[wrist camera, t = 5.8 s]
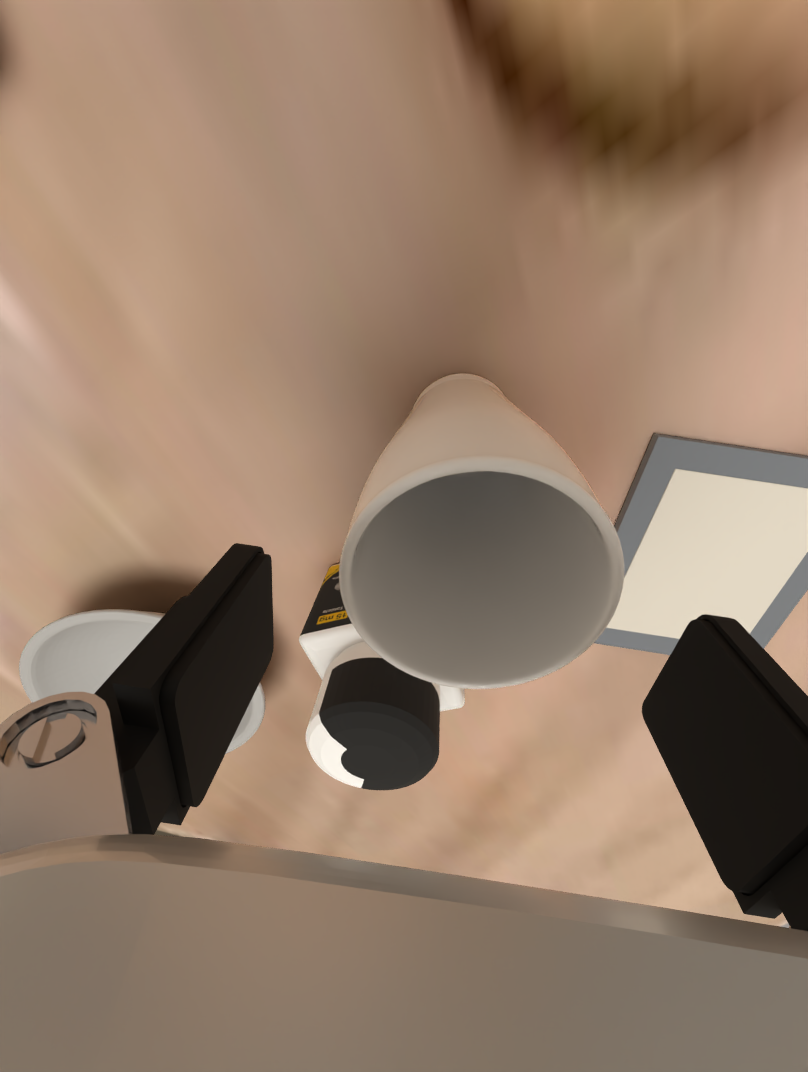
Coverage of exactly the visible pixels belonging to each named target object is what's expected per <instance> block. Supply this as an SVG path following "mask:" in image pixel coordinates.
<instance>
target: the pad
mask: <svg viewBox="0 0 808 1072" xmlns="http://www.w3.org/2000/svg"><path fill="white" fill-rule="evenodd" d="M614 527H615V530H616V532H617V535H618V537H619V540H620V544H621V548H622V552H623V559H624V582H623V589H622V593H621V597H620V601H619V603H618V606H617V608H616V611H615V613H614V615H613V617H612V619H611V621H610V622H609V624H608V625H607V627H606V628H605V630H604V631H603V633H602V634H601V635H600V636H599V637H598V639H597V640H596V641H595V642H594V643H596V644H603V645H609V646H616V647H622V648H628V649H635V650H641V651H648V652H654V653H661V654H667V655H671V653H672V651H673V650H674V648H675V646H676V644H677V643H678V641H679V639H680V637H681V636H682V634H683V632H684V630H685V629H686V627H687V625H688V624H689V622H690V621H692V620H695V619H697V618H698V617H699V616H701V615H704V614H708V615H715V616H721V617H728V618H732V619H735V620H737V621H738V622H739V623H740V624H741V625H742V626H743V627H744V628H745V629H746V630H747V632H748V633H749V634H750V635H751V636H752V637H753V638H754V639H755V640H756V641H757V642H758V643H759V644H760V646H761V647H762V648H763V649H764V648H765V646H766V645H767V644H768V642H769V641H770V640H771V638H772V637H773V636H774V634H775V633H776V632H777V630H778V629H779V628H780V626H781V625H782V624H783V622H784V621H785V619H786V618H787V617H788V615H789V614H790V613H791V611H792V610H793V609H794V607H795V606H796V605H797V603H798V602H799V601H800V599H801V598H802V597H803V595H804V594H805V593H806V591H807V590H808V456H804V455H797V454H791V453H784V452H777V451H771V450H764V449H757V448H750V447H744V446H737V445H730V444H723V443H717V442H710V441H703V440H696V439H690V438H683V437H676V436H670V435H663V434H656V433H654V434H653V436H652V438H651V441H650V443H649V446H648V448H647V450H646V453H645V455H644V457H643V460H642V462H641V464H640V467H639V469H638V471H637V474H636V476H635V479H634V481H633V483H632V486H631V488H630V490H629V493H628V495H627V497H626V500H625V502H624V505H623V507H622V509H621V512H620V514H619V516H618V519H617V521H616V523H615V526H614Z"/></svg>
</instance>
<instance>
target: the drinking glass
mask: <svg viewBox="0 0 808 1072" xmlns="http://www.w3.org/2000/svg"><path fill="white" fill-rule="evenodd" d="M623 582H624V559H623V552H622V548H621V544H620V540H619V537H618V535H617V532H616V530H615V527H614V526H613V524H612V522H611V520H610V518H609V516H608V515H607V514H606V512H605V511H604V509H603V507H602V505H601V503H600V502H599V500H598V498H597V496H596V495H595V493H594V491H593V489H592V488H591V486H590V485H589V483H588V482H587V480H586V478H585V477H584V476H583V474H582V473H581V471H580V470H579V469H578V467H577V466H576V464H575V463H574V462H573V460H572V459H571V458H570V456H569V455H568V454H567V453H566V451H565V450H564V449H563V448H562V447H561V446H560V445H559V444H558V443H557V441H556V440H555V439H554V438H553V437H552V436H551V435H550V434H549V433H548V432H547V431H545V430H544V429H543V428H542V427H541V426H540V425H539V424H537V423H536V422H535V421H534V420H533V419H531V418H530V417H529V416H528V415H527V414H525V413H524V412H523V411H522V410H520V409H519V408H518V407H517V406H515V405H514V404H513V403H512V402H510V401H509V400H508V399H507V398H506V397H505V395H504V394H503V393H502V391H501V390H500V389H499V388H498V387H497V386H496V385H495V384H493V383H492V382H491V381H489V380H487V379H485V378H483V377H481V376H478V375H474V374H467V373H459V374H452V375H448V376H445V377H442V378H440V379H438V380H436V381H435V382H433V383H432V384H430V385H429V386H428V387H427V388H426V389H425V390H424V391H423V392H422V393H421V394H420V396H419V397H418V398H417V400H416V402H415V404H414V406H413V408H412V411H411V413H410V414H409V415H408V417H407V418H406V420H405V421H404V422H403V424H402V425H401V426H400V428H399V429H398V430H397V432H396V433H395V435H394V436H393V437H392V439H391V440H390V441H389V443H388V444H387V446H386V447H385V448H384V450H383V452H382V453H381V455H380V456H379V458H378V460H377V461H376V463H375V465H374V467H373V468H372V470H371V472H370V474H369V476H368V479H367V481H366V483H365V485H364V487H363V489H362V492H361V494H360V497H359V500H358V503H357V505H356V508H355V511H354V514H353V517H352V520H351V523H350V526H349V530H348V533H347V537H346V540H345V543H344V545H343V549H342V553H341V558H340V566H339V584H340V592H341V596H342V600H343V604H344V607H345V610H346V612H347V615H348V617H349V619H350V621H351V623H352V624H353V626H354V628H355V629H356V631H357V632H358V634H359V635H360V636H361V638H362V639H363V640H364V641H365V642H366V643H367V644H368V646H369V647H370V648H371V649H372V650H373V651H375V652H376V653H377V654H378V655H379V656H380V657H382V658H383V659H384V660H386V661H387V662H388V663H390V664H391V665H393V666H395V667H396V668H398V669H400V670H402V671H404V672H406V673H408V674H410V675H412V676H414V677H417V678H419V679H422V680H425V681H428V682H431V683H435V684H439V685H443V686H449V687H455V688H463V689H493V688H503V687H509V686H514V685H519V684H523V683H526V682H530V681H533V680H536V679H538V678H541V677H544V676H546V675H548V674H550V673H552V672H555V671H557V670H559V669H560V668H562V667H564V666H565V665H567V664H569V663H570V662H572V661H573V660H575V659H576V658H577V657H579V656H580V655H581V654H582V653H583V652H585V651H586V650H587V649H588V648H589V647H590V646H591V645H592V644H593V643H594V642H595V641H596V640H597V639H598V637H599V636H600V635H601V634H602V633H603V631H604V630H605V628H606V627H607V625H608V624H609V622H610V621H611V619H612V617H613V615H614V613H615V611H616V608H617V606H618V603H619V601H620V597H621V593H622V589H623Z"/></svg>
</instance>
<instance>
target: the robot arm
mask: <svg viewBox="0 0 808 1072" xmlns="http://www.w3.org/2000/svg"><path fill="white" fill-rule="evenodd" d="M272 653H273V604H272V564H271V556H270V555H267V554H264V551H263V548H262V547H258V546H251V545H245V544H238V543H236V544H234V545H232V547H231V548H230V549H229V550H228V551H227V552H226V553H225V555H224V556H223V557H222V558H221V559H220V560H219V561H218V563H217V564H216V565H215V566H214V567H213V568H212V569H211V571H210V572H209V573H208V574H207V575H206V576H205V577H204V579H203V580H202V581H201V582H200V583H199V584H198V585H197V587H196V588H195V589H194V590H193V591H192V592H191V593H190V595H189V596H185V597H182V598H180V599H179V600H178V601H177V602H176V603H175V604H174V605H173V606H172V607H171V608H170V610H169V611H168V612H167V613H166V614H165V615H164V616H163V617H162V618H161V620H160V621H159V622H158V623H157V624H156V625H155V626H154V627H153V629H152V630H151V631H150V632H149V633H148V634H147V635H146V636H145V637H144V639H143V640H142V641H141V642H140V643H139V644H138V645H137V646H136V648H135V649H134V650H133V651H132V652H131V653H130V654H129V655H128V656H127V658H126V659H125V660H124V661H123V662H122V663H121V664H120V665H119V667H118V668H117V669H116V670H115V671H114V672H113V673H112V674H111V675H110V677H109V678H108V679H107V680H106V681H105V682H104V683H103V684H102V685H101V687H100V688H99V689H98V690H97V691H96V692H95V693H94V694H91V693H87V692H65V693H60V694H56V695H51V696H48V697H45V698H43V699H40V700H38V701H35V702H33V703H30V704H29V705H27V706H25V707H24V708H22V709H20V710H19V711H17V712H15V713H13V714H12V715H11V716H10V717H8V718H7V719H6V720H5V721H4V722H3V723H1V724H0V1072H808V696H807V695H806V694H805V693H804V692H803V691H802V690H801V688H800V687H799V686H798V685H797V684H796V683H795V682H794V681H793V680H792V679H791V678H790V677H789V676H788V675H787V673H786V672H785V671H784V670H783V669H782V668H781V667H780V666H779V665H778V664H777V663H776V662H775V661H774V659H773V658H772V657H771V656H770V655H769V654H768V653H767V652H766V651H765V650H764V649H763V648H762V647H761V646H760V644H759V643H758V642H757V641H756V640H755V639H754V638H753V637H752V636H751V635H750V634H749V633H748V632H747V630H746V629H745V628H744V627H743V626H742V625H741V624H740V623H739V622H738V621H737V620H735V619H732V618H728V617H721V616H715V615H708V614H704V615H701V616H699V617H698V618H697V619H695V620H692V621H690V622H689V624H688V625H687V627H686V629H685V630H684V632H683V634H682V636H681V637H680V639H679V641H678V643H677V644H676V646H675V648H674V650H673V651H672V653H671V655H670V657H669V658H668V660H667V662H666V664H665V665H664V667H663V669H662V671H661V672H660V674H659V676H658V678H657V679H656V681H655V683H654V685H653V686H652V688H651V690H650V692H649V693H648V695H647V697H646V699H645V700H644V702H643V706H642V714H643V718H644V721H645V723H646V725H647V727H648V729H649V731H650V733H651V735H652V737H653V739H654V741H655V743H656V745H657V748H658V750H659V752H660V754H661V756H662V758H663V760H664V762H665V764H666V766H667V768H668V770H669V772H670V774H671V776H672V778H673V781H674V783H675V785H676V787H677V789H678V791H679V793H680V795H681V797H682V799H683V801H684V803H685V805H686V807H687V809H688V811H689V814H690V816H691V818H692V820H693V822H694V824H695V826H696V828H697V830H698V832H699V834H700V836H701V838H702V840H703V842H704V844H705V847H706V849H707V851H708V853H709V855H710V857H711V859H712V861H713V863H714V865H715V867H716V869H717V871H718V873H719V875H720V878H721V879H722V881H723V883H724V884H725V885H726V886H727V887H728V888H729V889H730V890H732V891H733V893H734V895H735V897H736V899H737V901H738V903H739V905H740V907H741V909H742V911H743V913H744V914H748V915H755V916H761V917H768V918H774V919H775V918H776V917H777V916H778V915H780V914H781V913H782V912H783V914H784V916H785V918H786V920H787V921H788V923H789V925H790V926H789V928H785V927H779V926H772V925H766V924H760V923H754V922H748V921H742V920H736V919H730V918H723V917H717V916H711V915H705V914H699V913H693V912H687V911H680V910H674V909H668V908H662V907H656V906H649V905H643V904H637V903H630V902H624V901H618V900H611V899H605V898H599V897H592V896H586V895H580V894H573V893H567V892H561V891H554V890H548V889H542V888H535V887H529V886H522V885H516V884H510V883H503V882H497V881H491V880H484V879H478V878H471V877H465V876H458V875H452V874H445V873H439V872H432V871H425V870H419V869H412V868H406V867H399V866H392V865H386V864H379V863H373V862H366V861H359V860H353V859H346V858H340V857H333V856H326V855H320V854H313V853H307V852H300V851H292V850H284V849H277V848H269V847H262V846H254V845H247V844H239V843H231V842H224V841H216V840H209V839H201V838H189V837H176V836H162V835H154V833H155V832H156V830H157V828H158V826H159V824H160V822H163V823H170V824H176V825H181V824H182V822H183V820H184V818H185V816H186V814H187V812H188V810H189V808H190V806H192V807H197V806H199V805H200V803H201V802H202V800H203V798H204V797H205V795H206V793H207V790H208V788H209V786H210V784H211V782H212V780H213V778H214V776H215V774H216V772H217V770H218V768H219V766H220V764H221V762H222V759H223V757H224V755H225V753H226V751H227V749H228V747H229V745H230V743H231V741H232V739H233V737H234V735H235V733H236V731H237V728H238V726H239V724H240V722H241V720H242V718H243V716H244V714H245V712H246V710H247V708H248V706H249V704H250V702H251V700H252V697H253V695H254V693H255V691H256V689H257V687H258V685H259V683H260V681H261V679H262V677H263V675H264V673H265V671H266V669H267V666H268V664H269V662H270V660H271V657H272Z"/></svg>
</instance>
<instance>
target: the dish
mask: <svg viewBox="0 0 808 1072" xmlns="http://www.w3.org/2000/svg"><path fill="white" fill-rule="evenodd" d="M164 615H165V614H164V613H157V612H146V611H135V610H123V609H104V610H92V611H86V612H80V613H76V614H72V615H69V616H66V617H63V618H60V619H58V620H56V621H54V622H52V623H50V624H48V625H47V626H45V627H43V628H42V629H41V630H39V631H38V632H37V633H36V634H35V635H34V636H33V637H32V638H31V639H30V640H29V642H28V643H27V645H26V646H25V648H24V650H23V652H22V654H21V658H20V664H19V672H20V678H21V682H22V685H23V688H24V690H25V692H26V694H27V696H28V697H29V699H30V700H31V702H32V703H33V702H35V701H38V700H40V699H43V698H45V697H48V696H51V695H56V694H60V693H65V692H87V693H91V694H94V693H95V692H96V691H97V690H98V689H99V688H100V687H101V685H102V684H103V683H104V682H105V681H106V680H107V679H108V678H109V677H110V675H111V674H112V673H113V672H114V671H115V670H116V669H117V668H118V667H119V665H120V664H121V663H122V662H123V661H124V660H125V659H126V658H127V656H128V655H129V654H130V653H131V652H132V651H133V650H134V649H135V648H136V646H137V645H138V644H139V643H140V642H141V641H142V640H143V639H144V637H145V636H146V635H147V634H148V633H149V632H150V631H151V630H152V629H153V627H154V626H155V625H156V624H157V623H158V622H159V621H160V620H161V618H162V617H163V616H164ZM264 712H265V695H264V691H263V688H262V685H261V683H259V685H258V687H257V689H256V691H255V693H254V695H253V697H252V700H251V702H250V704H249V706H248V708H247V710H246V712H245V714H244V716H243V718H242V720H241V722H240V724H239V726H238V728H237V731H236V733H235V735H234V737H233V739H232V741H231V743H230V745H229V747H228V749H227V751H226V753H228V752H231V751H233V750H235V749H236V748H238V747H240V746H241V745H243V744H244V743H245V742H247V741H248V740H249V739H250V738H251V737H252V736H253V735H254V733H255V732H256V731H257V729H258V728H259V726H260V724H261V722H262V720H263V717H264ZM226 753H225V754H226Z"/></svg>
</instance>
